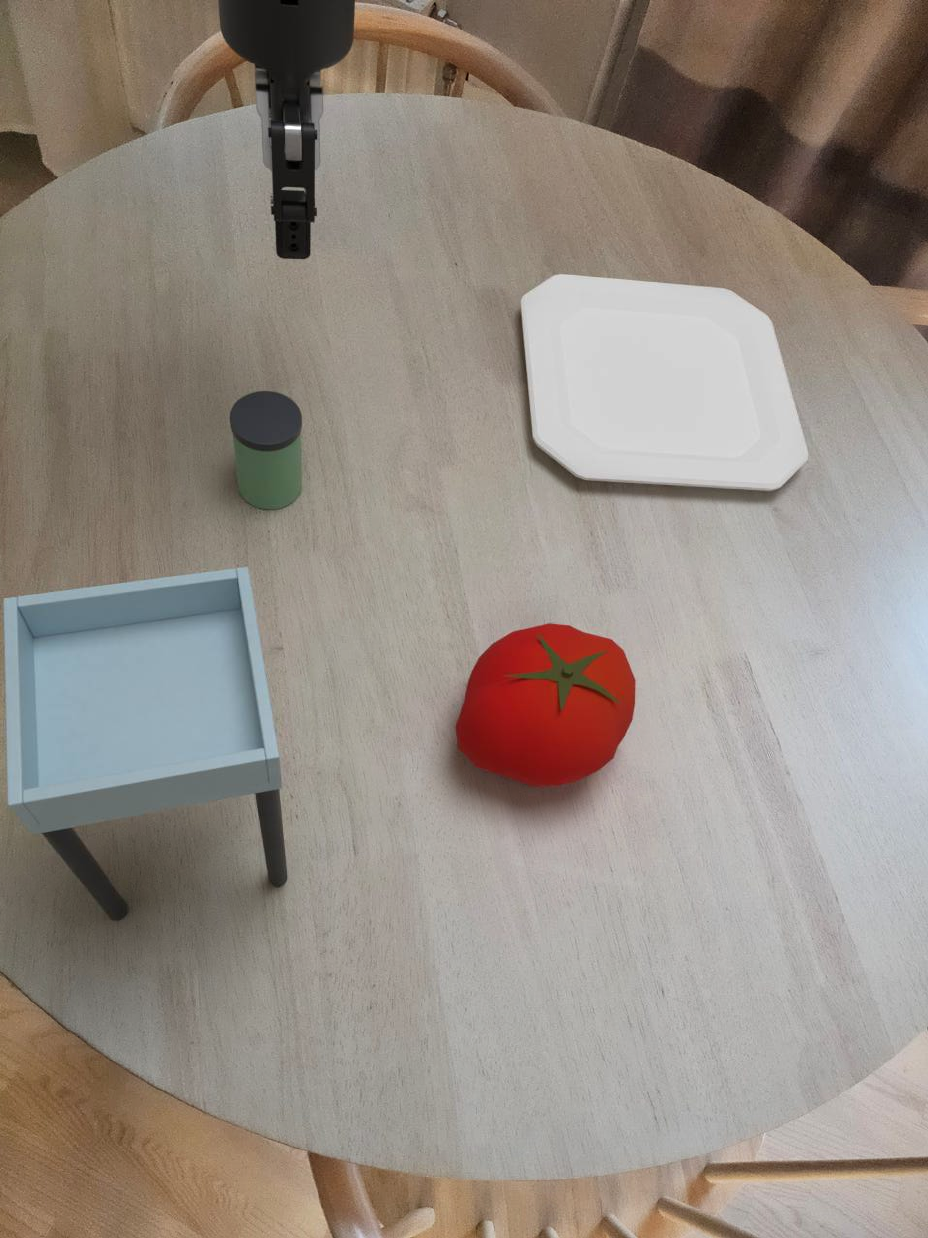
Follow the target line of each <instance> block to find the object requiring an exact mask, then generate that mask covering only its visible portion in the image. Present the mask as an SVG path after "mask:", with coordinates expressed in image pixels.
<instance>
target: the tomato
mask: <svg viewBox="0 0 928 1238" xmlns="http://www.w3.org/2000/svg"><path fill="white" fill-rule="evenodd" d="M636 681H637V680H636V678H635V675H634V673H633V670H632V667H631V665H630V663H629V660H628V657H627V655H626V653H625V650H624V649H623V648H622V647H621V646H620V645H618V643H616V642H615V641H614V640H613V639H612V638H609V637H604V636H601V635H596V634H593V633H589V632H585V631H582V630H580V629H578V628H576V627H573V626H572V625H570V624H563V623H561V624H560V623H553V622H549V623H544V624H540V625H535V626H532V627H527V628H522V629H518V630H514V631H512V632H510V633H508V634H507V635H504V636H502V637H501V638H500V639H498V640H496V641H495V642H493V643H492V644H490V645H489V646H488V647H487V649H486V650H484V652H483V653H481V655H480V656H479V657H478V659H477V660H476V662H475V664H474V666H473V667H472V670H471V672H470V675H469V677H468V680H467V684H466V688H465V693H464V698H463V699H464V700H463V703H462V706H461V709H460V712H459V715H458V718H457V721H456V724H455V733H456V740H457V748H458V750H459V751H460V752H461V753H462V754H463V755H464V756H465V757H466V758H467V759H468V760H469V761H470V763H472V765H473V766H474V767H475V768H477V769H480V770H483V771H486V772H488V773H489V772H490V773H492V774H495V775H498V776H501V777H503V778H507V779H510V780H512V781H516V782H518V783H521V784H524V785H527V786H532V787H534V788H539V787H540V788H541V787H542V788H543V787H560V786H565V785H569V784H573V783H575V782H578V781H580V780H582V779H584V778H587V777H589V776H591V775H593V774H596V773H597V772H599V771H600V770H601V769H602V768H603V767H605V766H606V765H607V764H608V763H610V762H611V761H612V760H613V759H615V755H616V752H617V749H618V747H619V745H620V744H621V742H622V741H623V739H624V738H625V736H626V734H627V732H628V730H629V728H630V726H631V724H632V722H633V719H634V713H635V706H636V683H637V682H636Z"/></svg>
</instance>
